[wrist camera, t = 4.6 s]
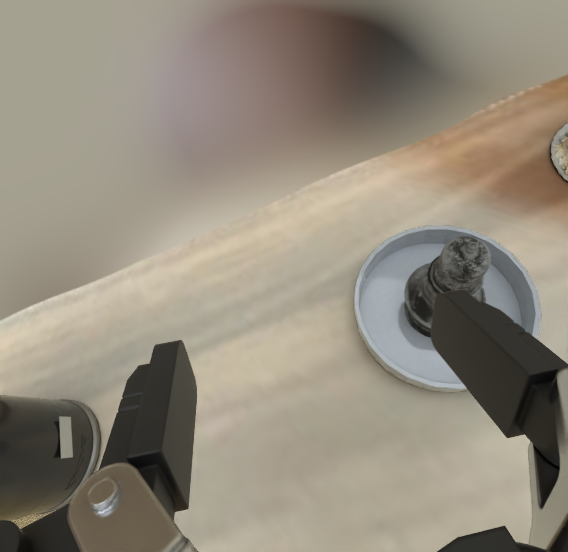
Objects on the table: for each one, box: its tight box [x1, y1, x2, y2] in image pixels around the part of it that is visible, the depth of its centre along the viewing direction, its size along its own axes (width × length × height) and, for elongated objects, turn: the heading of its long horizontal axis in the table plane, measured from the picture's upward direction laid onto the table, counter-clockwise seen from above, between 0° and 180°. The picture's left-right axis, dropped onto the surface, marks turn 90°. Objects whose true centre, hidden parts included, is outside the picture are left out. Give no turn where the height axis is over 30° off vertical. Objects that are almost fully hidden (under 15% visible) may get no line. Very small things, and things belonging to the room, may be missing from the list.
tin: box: [354, 226, 541, 393], centre depth 29 cm, size 14×14×3 cm
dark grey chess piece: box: [404, 236, 491, 338], centre depth 25 cm, size 6×6×12 cm
